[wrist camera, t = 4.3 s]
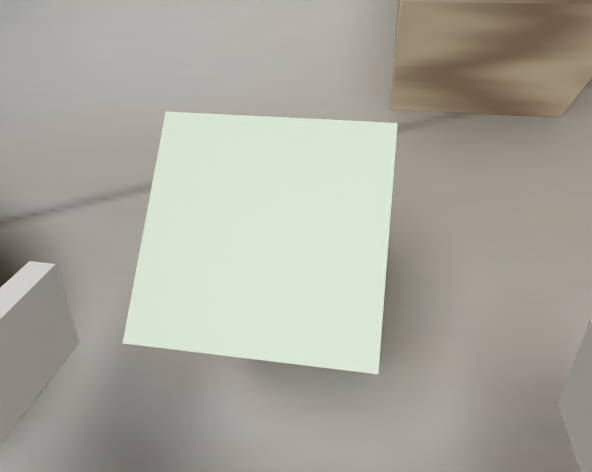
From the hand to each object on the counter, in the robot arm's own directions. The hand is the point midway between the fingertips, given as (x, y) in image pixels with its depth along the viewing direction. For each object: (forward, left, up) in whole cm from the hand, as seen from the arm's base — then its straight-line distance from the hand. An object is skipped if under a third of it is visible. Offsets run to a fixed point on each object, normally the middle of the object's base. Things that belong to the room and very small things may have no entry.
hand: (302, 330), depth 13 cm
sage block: (-1, +2, -8) cm, 8 cm away
